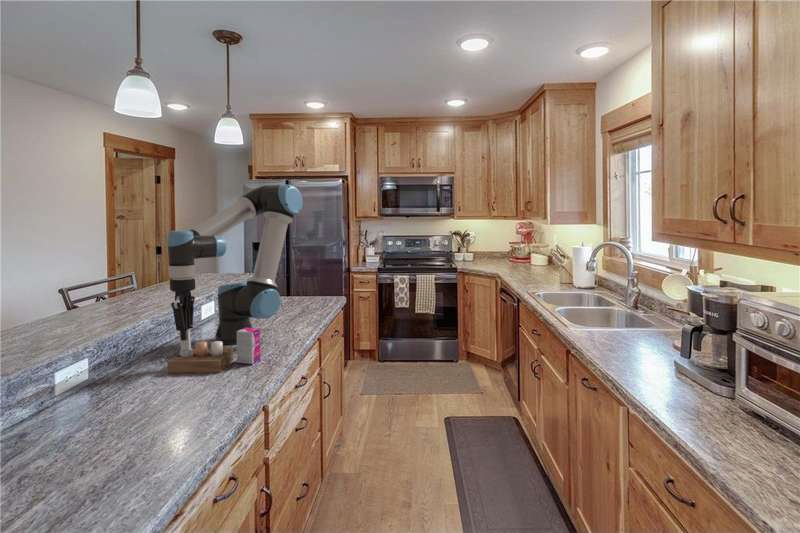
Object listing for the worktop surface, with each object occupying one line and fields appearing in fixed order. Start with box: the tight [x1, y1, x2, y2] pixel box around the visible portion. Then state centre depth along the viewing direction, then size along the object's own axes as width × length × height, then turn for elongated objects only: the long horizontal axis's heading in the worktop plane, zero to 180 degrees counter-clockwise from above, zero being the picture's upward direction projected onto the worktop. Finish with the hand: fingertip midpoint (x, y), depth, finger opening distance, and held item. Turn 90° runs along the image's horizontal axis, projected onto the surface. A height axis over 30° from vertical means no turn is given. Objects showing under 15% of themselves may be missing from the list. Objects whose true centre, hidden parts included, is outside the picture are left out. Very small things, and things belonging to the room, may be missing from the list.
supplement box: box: [236, 327, 261, 366], centre depth 155 cm, size 6×6×12 cm
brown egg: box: [195, 340, 209, 357], centre depth 151 cm, size 4×4×5 cm
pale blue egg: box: [179, 347, 193, 357], centre depth 151 cm, size 4×4×5 cm
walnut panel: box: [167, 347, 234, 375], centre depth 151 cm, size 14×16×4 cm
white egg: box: [210, 340, 224, 356], centre depth 151 cm, size 4×4×5 cm
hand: (185, 349), depth 151 cm, fingers closed
